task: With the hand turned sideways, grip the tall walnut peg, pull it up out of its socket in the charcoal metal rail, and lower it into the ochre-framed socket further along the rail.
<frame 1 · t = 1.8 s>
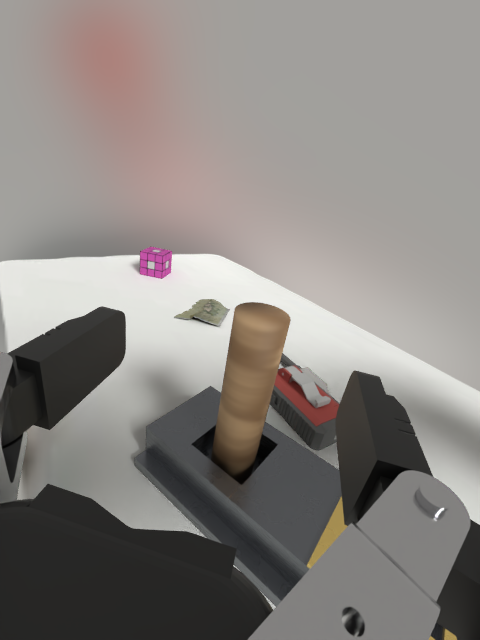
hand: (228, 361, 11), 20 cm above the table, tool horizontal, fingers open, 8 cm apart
walnut peg: (231, 467, 29), point 1 cm above the table, touching socket rail
topographic map: (195, 309, 62), on the table
socket rail: (293, 526, 26), on the table
puzzle toy: (155, 274, 76), on the table
walkie-talkie: (290, 396, 42), on the table
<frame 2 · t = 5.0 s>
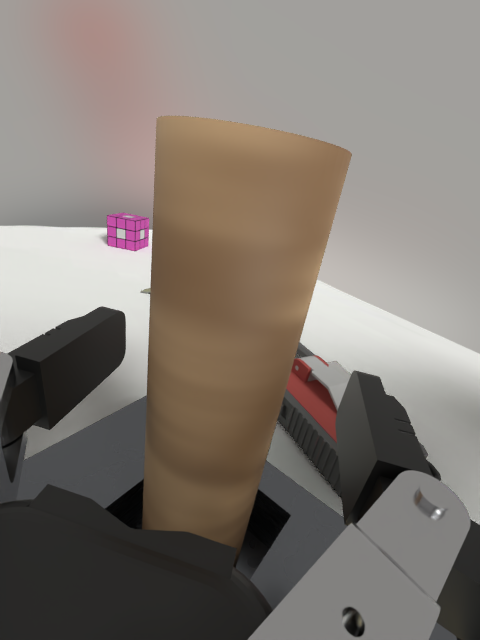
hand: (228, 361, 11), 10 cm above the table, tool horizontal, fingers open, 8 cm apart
walnut peg: (188, 560, 13), point 1 cm above the table, touching socket rail
puzzle toy: (128, 247, 61), on the table
walkie-talkie: (308, 404, 27), on the table
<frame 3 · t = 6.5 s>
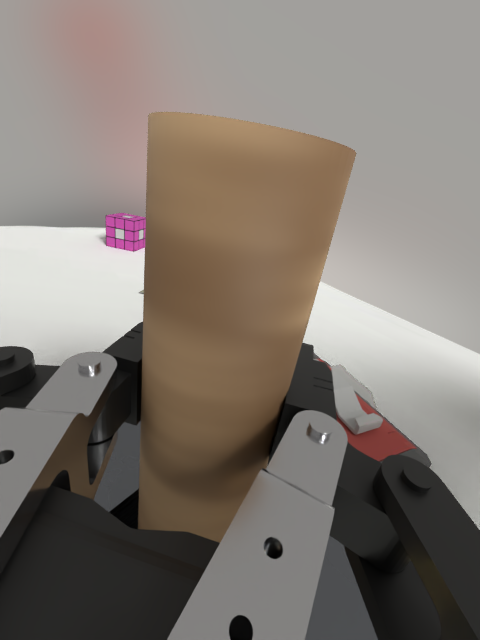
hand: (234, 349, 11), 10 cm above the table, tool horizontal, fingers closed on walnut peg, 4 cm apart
walnut peg: (186, 571, 13), point 1 cm above the table, touching gripper, socket rail
puzzle toy: (127, 247, 61), on the table
walkie-talkie: (310, 408, 26), on the table
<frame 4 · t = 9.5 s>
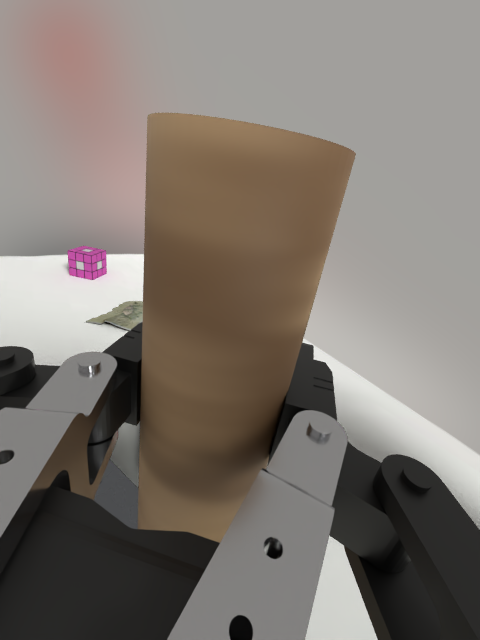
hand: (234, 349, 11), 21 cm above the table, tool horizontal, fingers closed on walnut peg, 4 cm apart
walnut peg: (186, 572, 13), point 11 cm above the table, touching gripper
topographic map: (116, 312, 58), on the table
socket rail: (100, 586, 21), on the table
puzzle toy: (88, 275, 71), on the table
when the fingers open (12 cm above the table, at t = 12.5 s): walnut peg drops 1 cm, resting on socket rail.
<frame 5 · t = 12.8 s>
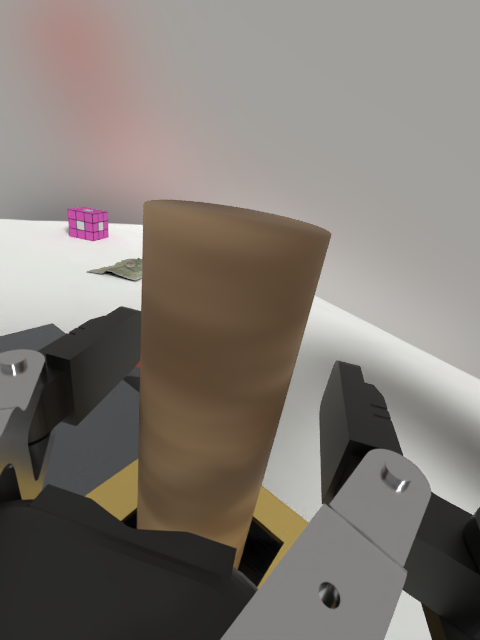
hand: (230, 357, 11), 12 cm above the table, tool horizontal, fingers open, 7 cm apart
walnut peg: (183, 592, 13), point 1 cm above the table, touching socket rail
topographic map: (118, 267, 55), on the table
socket rail: (96, 499, 17), on the table
puzzle toy: (89, 237, 68), on the table
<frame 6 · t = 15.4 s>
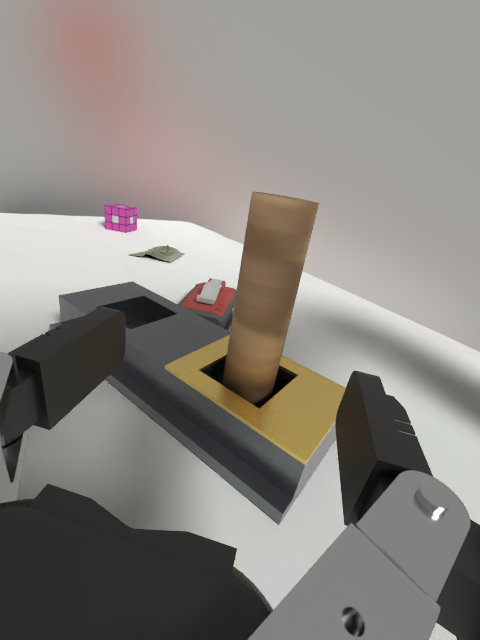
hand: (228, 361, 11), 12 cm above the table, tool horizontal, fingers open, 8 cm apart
walnut peg: (243, 405, 25), point 1 cm above the table, touching socket rail
topographic map: (151, 253, 66), on the table
socket rail: (183, 375, 29), on the table
puzzle toy: (121, 230, 80), on the table
walkie-talkie: (219, 312, 44), on the table
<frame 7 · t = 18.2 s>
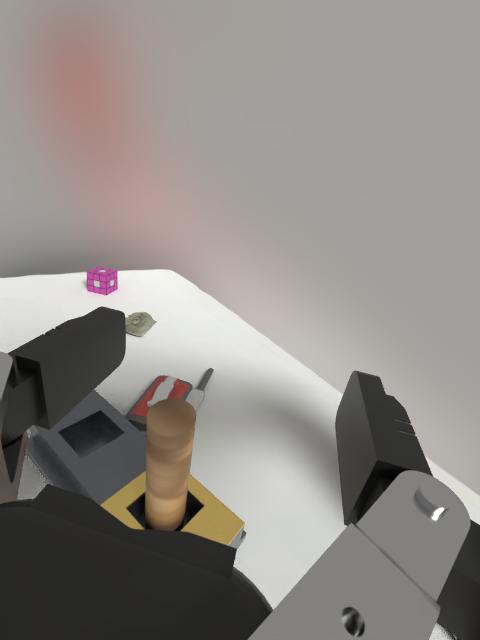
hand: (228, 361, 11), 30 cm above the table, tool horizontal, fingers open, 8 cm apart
walnut peg: (164, 526, 32), point 1 cm above the table, touching socket rail
topographic map: (126, 322, 74), on the table
socket rail: (125, 489, 36), on the table
puzzle toy: (103, 290, 87), on the table
walkie-talkie: (174, 403, 52), on the table
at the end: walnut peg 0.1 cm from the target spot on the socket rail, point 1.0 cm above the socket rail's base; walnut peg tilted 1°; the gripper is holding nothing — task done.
